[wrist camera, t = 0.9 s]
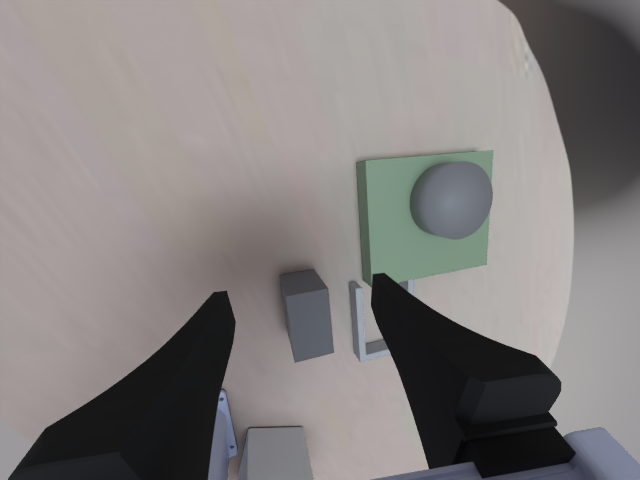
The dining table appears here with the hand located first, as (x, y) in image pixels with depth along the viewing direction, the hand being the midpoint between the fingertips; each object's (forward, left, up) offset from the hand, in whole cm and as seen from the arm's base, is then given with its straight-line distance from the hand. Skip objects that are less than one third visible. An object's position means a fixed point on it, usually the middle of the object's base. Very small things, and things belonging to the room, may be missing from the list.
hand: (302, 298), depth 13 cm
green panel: (-5, -17, -16) cm, 24 cm away
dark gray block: (-8, -2, -16) cm, 18 cm away
